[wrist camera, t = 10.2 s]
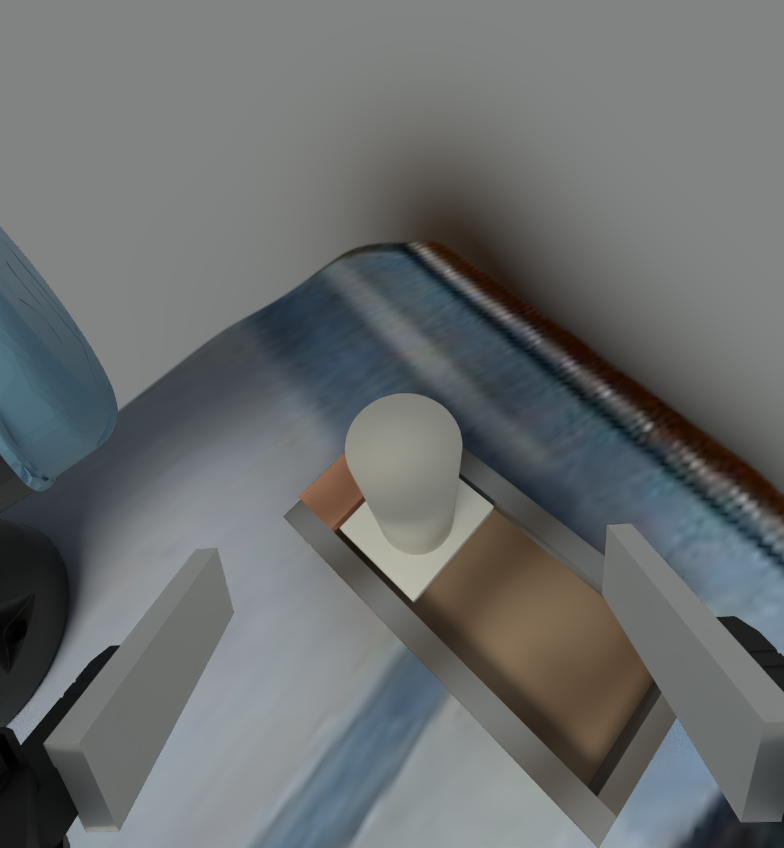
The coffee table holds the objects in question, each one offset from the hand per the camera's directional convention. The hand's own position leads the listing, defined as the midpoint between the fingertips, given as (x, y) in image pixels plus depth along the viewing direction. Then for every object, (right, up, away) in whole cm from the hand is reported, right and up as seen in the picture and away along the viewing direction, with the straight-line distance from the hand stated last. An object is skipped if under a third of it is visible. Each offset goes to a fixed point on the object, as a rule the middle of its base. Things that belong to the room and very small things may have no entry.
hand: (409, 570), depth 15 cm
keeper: (+1, -1, +13) cm, 13 cm away
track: (+5, -5, +13) cm, 15 cm away
